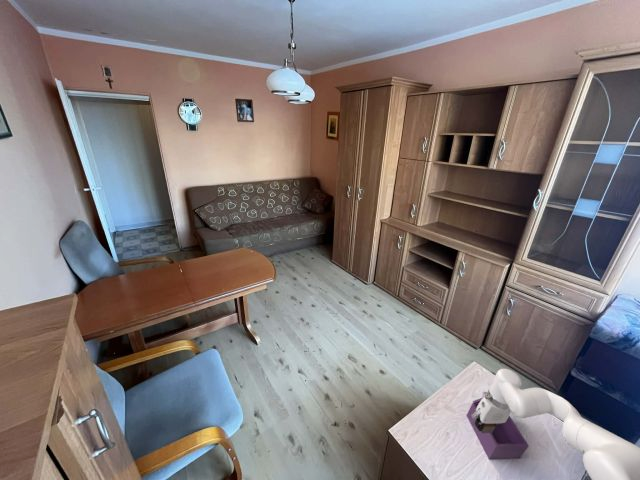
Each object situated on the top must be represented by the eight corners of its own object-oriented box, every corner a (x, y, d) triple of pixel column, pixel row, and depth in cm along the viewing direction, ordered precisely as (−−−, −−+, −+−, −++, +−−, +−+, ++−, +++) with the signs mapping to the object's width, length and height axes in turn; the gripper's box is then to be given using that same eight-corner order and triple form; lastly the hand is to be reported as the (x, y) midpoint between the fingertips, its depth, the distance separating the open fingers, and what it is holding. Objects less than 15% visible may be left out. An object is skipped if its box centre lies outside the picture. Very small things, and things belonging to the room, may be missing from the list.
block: (492, 433, 104) (495, 426, 102) (481, 433, 104) (484, 426, 102) (485, 421, 108) (488, 414, 106) (475, 421, 108) (478, 415, 106)
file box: (519, 458, 112) (529, 445, 108) (488, 459, 111) (496, 446, 107) (493, 415, 128) (500, 402, 124) (466, 415, 127) (472, 402, 123)
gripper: (483, 408, 94) (468, 437, 102) (527, 407, 95) (510, 436, 103) (471, 388, 101) (458, 417, 109) (513, 388, 102) (497, 417, 110)
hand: (483, 426), depth 106 cm, fingers closed on block, 4 cm apart
